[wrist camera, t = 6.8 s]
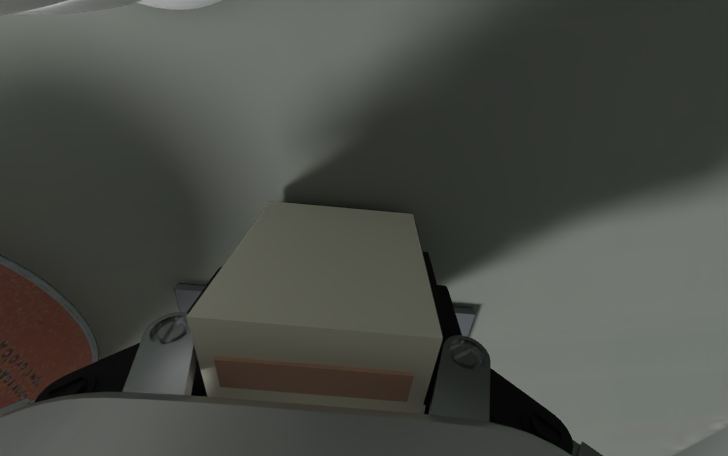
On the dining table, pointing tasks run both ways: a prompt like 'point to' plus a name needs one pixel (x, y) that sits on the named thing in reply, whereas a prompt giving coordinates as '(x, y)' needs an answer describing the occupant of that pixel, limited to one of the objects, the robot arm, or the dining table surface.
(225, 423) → the robot arm
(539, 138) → the dining table surface
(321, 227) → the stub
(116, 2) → the jar
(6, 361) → the canned food
